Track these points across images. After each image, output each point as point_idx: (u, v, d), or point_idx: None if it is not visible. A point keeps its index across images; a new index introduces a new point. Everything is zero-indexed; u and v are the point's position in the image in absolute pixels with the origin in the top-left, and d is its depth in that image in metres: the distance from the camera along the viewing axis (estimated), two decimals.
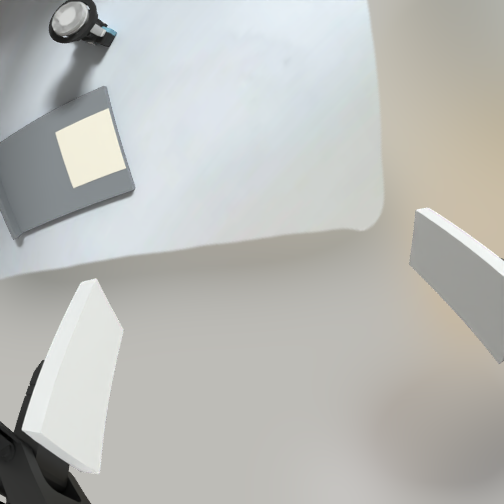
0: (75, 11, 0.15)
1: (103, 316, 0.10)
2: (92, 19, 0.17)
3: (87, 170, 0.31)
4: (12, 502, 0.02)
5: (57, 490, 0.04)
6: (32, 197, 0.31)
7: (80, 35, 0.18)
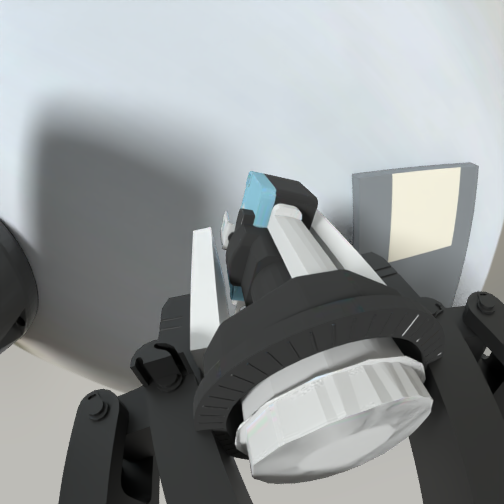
0: (328, 444, 0.04)
1: (217, 261, 0.12)
2: (378, 313, 0.04)
3: (445, 221, 0.23)
4: (158, 441, 0.04)
5: None
6: None
7: (438, 329, 0.04)
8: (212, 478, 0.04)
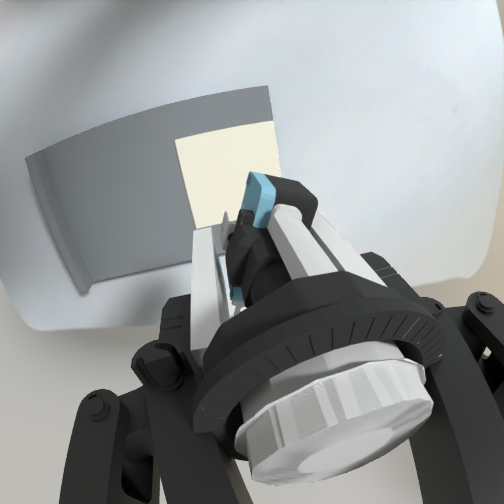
0: (328, 447, 0.04)
1: (218, 261, 0.12)
2: (378, 315, 0.04)
3: (225, 206, 0.25)
4: (158, 441, 0.04)
5: None
6: (117, 234, 0.24)
7: (439, 331, 0.04)
8: (212, 477, 0.04)
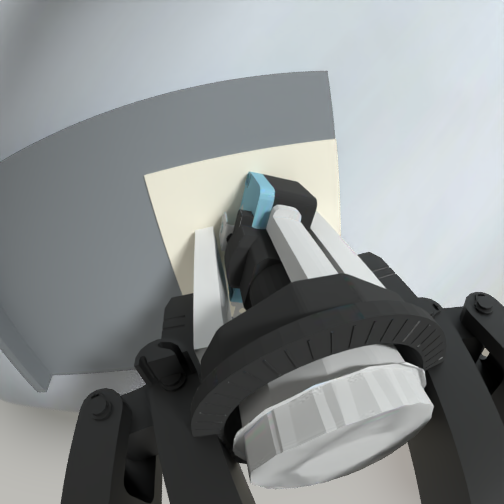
0: (327, 451, 0.04)
1: (219, 260, 0.12)
2: (378, 319, 0.04)
3: None
4: (161, 440, 0.04)
5: None
6: (71, 326, 0.14)
7: (440, 334, 0.04)
8: (216, 476, 0.04)
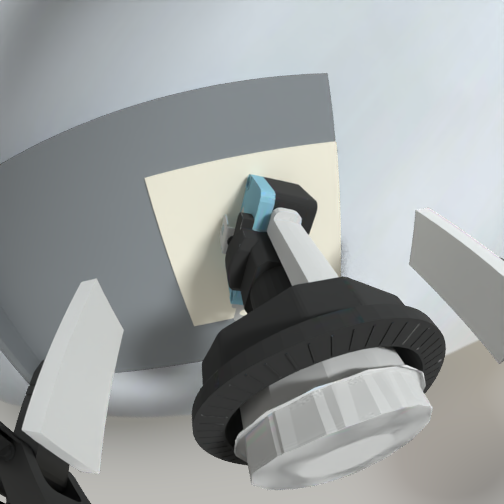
0: (327, 453, 0.04)
1: (103, 316, 0.10)
2: (378, 323, 0.04)
3: None
4: (12, 502, 0.02)
5: (57, 490, 0.04)
6: None
7: (439, 337, 0.04)
8: None
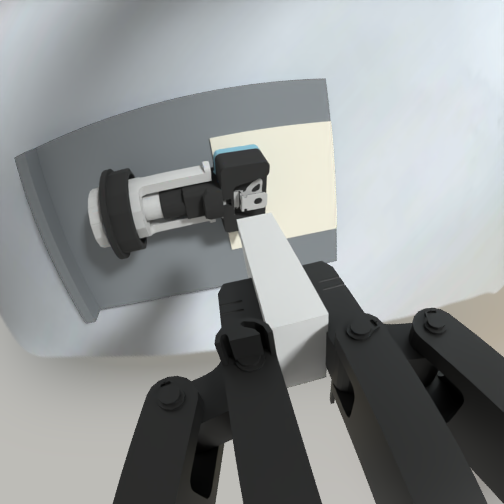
0: None
1: None
2: (101, 175, 0.14)
3: None
4: (236, 421, 0.05)
5: None
6: (132, 255, 0.20)
7: (100, 200, 0.13)
8: (293, 460, 0.04)
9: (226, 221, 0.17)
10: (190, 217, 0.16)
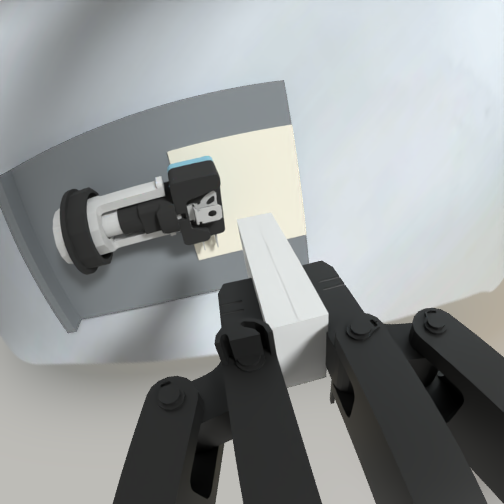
0: None
1: None
2: (63, 196, 0.14)
3: (233, 232, 0.20)
4: (236, 421, 0.05)
5: None
6: (105, 267, 0.20)
7: (61, 221, 0.13)
8: (292, 460, 0.04)
9: (184, 234, 0.17)
10: (148, 232, 0.16)
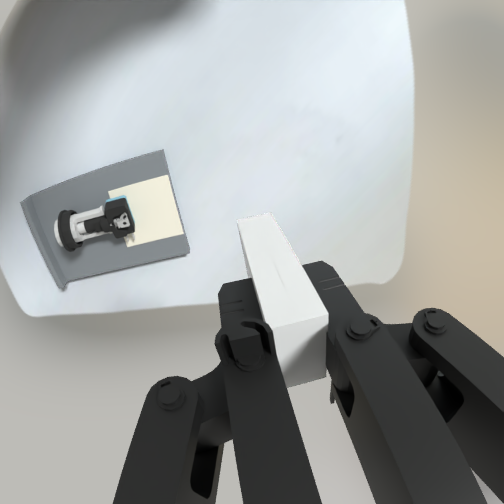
0: None
1: None
2: (59, 214, 0.30)
3: (143, 232, 0.36)
4: (236, 421, 0.05)
5: None
6: (80, 250, 0.36)
7: (58, 226, 0.29)
8: (292, 460, 0.04)
9: (114, 233, 0.33)
10: (98, 232, 0.32)
